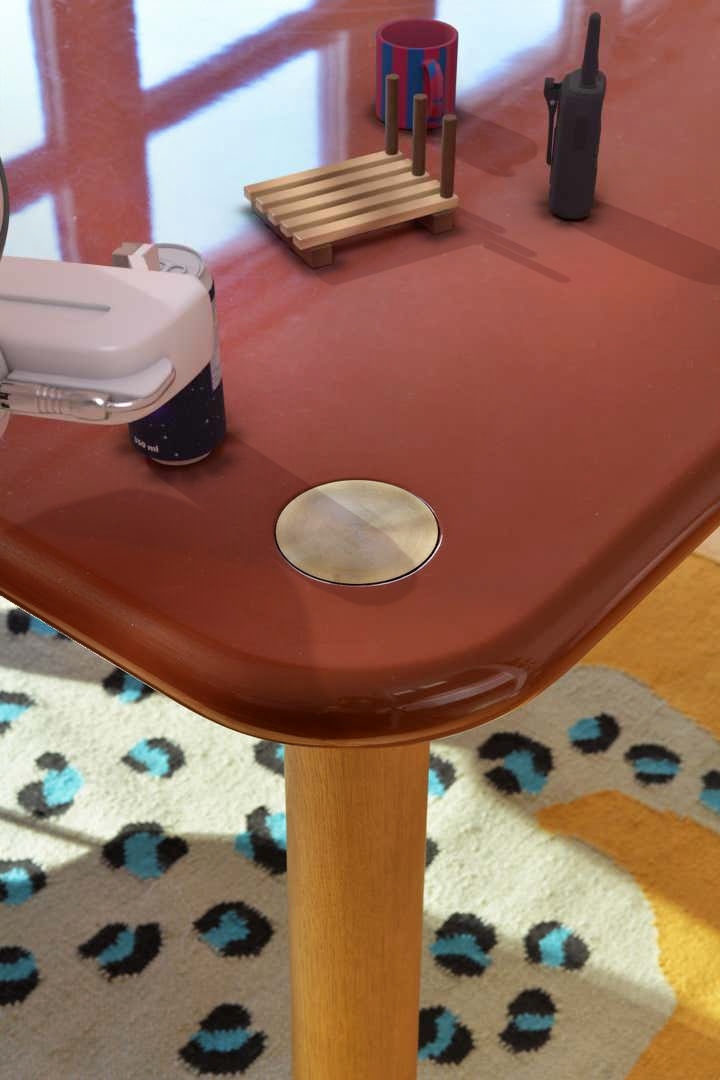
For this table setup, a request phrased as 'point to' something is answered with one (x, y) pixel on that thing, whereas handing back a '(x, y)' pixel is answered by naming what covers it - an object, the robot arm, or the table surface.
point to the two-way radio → (576, 131)
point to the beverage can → (186, 388)
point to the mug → (418, 67)
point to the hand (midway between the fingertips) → (48, 248)
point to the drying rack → (362, 189)
